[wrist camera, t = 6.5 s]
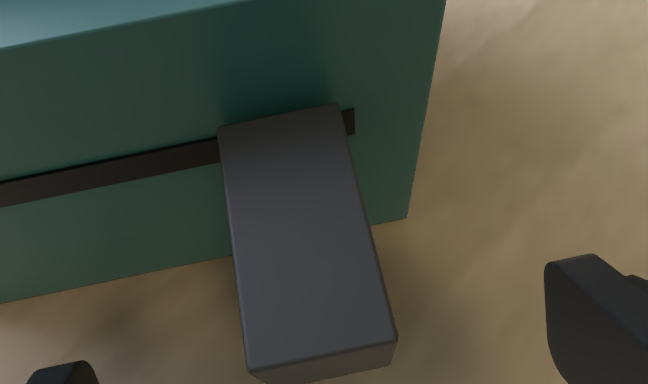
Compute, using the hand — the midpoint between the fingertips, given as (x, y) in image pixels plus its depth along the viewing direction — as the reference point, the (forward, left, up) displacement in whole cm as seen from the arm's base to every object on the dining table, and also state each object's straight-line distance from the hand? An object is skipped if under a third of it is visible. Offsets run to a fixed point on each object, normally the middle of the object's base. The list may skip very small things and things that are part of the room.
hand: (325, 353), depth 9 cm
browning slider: (-1, +2, -3) cm, 3 cm away
